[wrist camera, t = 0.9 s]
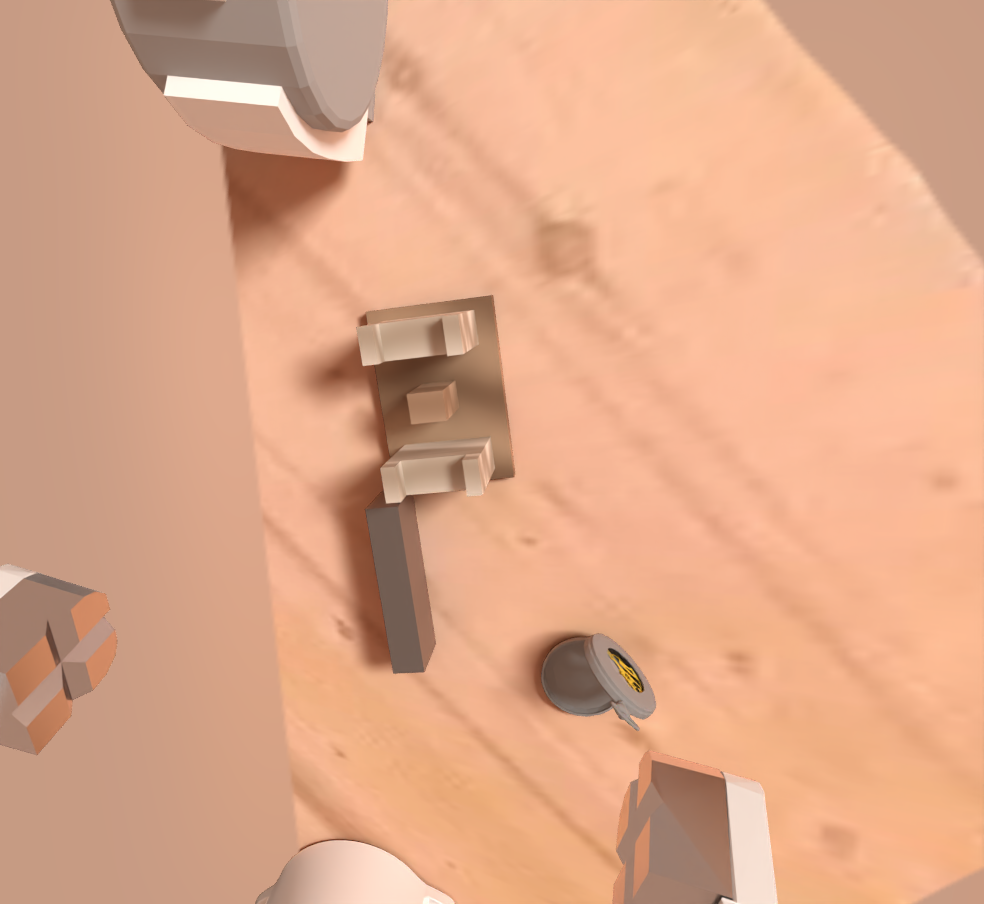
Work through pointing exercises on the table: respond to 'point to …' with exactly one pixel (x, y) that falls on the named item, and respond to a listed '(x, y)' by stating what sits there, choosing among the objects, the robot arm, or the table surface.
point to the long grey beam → (401, 583)
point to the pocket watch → (596, 679)
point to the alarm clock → (265, 69)
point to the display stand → (440, 396)
